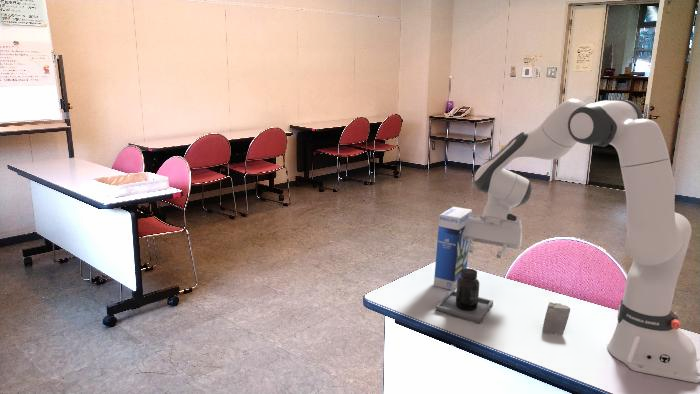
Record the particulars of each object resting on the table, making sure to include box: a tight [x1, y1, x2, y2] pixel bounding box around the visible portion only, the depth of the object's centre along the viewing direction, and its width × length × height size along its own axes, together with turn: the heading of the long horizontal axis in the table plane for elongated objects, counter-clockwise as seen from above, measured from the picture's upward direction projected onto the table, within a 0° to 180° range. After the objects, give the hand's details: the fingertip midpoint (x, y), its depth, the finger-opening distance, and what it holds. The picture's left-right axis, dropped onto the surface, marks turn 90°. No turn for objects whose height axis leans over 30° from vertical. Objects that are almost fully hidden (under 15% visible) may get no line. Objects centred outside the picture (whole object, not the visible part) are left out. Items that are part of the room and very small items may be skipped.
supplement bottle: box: [455, 267, 480, 311], centre depth 163 cm, size 7×7×12 cm
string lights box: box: [433, 206, 473, 291], centre depth 181 cm, size 13×8×26 cm, turn 149°
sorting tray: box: [435, 290, 494, 325], centre depth 164 cm, size 14×14×2 cm
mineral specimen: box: [542, 302, 571, 336], centre depth 153 cm, size 7×9×8 cm
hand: (484, 254), depth 170 cm, fingers open, 8 cm apart
